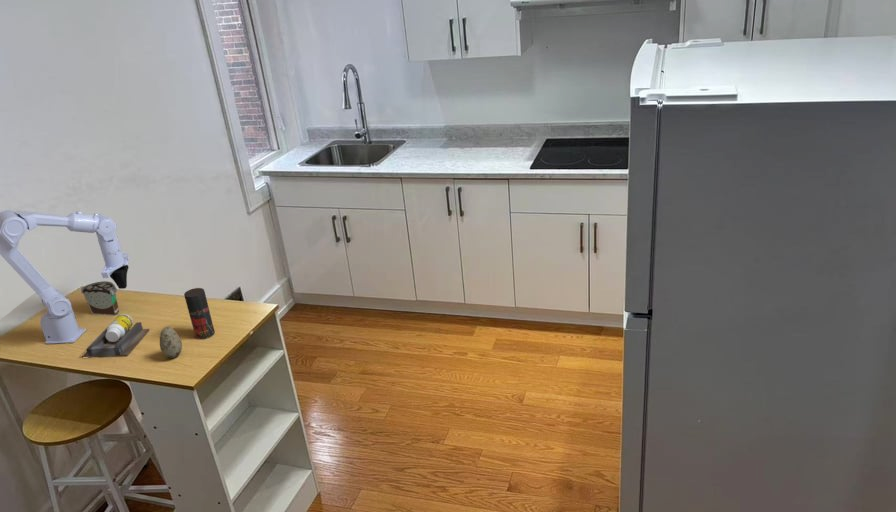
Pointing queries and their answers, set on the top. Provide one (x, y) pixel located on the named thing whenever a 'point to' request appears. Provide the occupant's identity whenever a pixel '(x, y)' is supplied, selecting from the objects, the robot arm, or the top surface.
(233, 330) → the top surface
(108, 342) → the bottle rest
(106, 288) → the food container
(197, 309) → the deodorant
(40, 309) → the top surface
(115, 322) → the supplement bottle
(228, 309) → the top surface
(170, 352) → the decorative egg
